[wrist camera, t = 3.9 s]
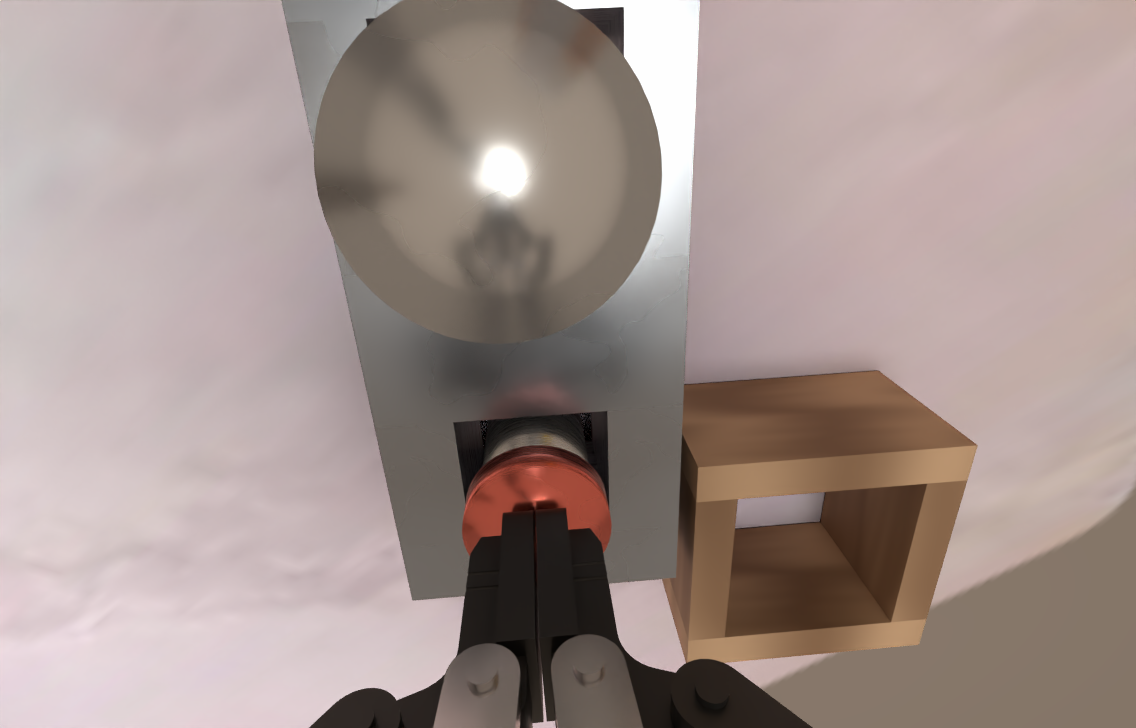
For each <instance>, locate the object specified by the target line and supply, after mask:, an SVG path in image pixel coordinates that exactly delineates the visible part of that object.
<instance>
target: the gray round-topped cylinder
mask: <svg viewBox="0 0 1136 728" xmlns="http://www.w3.org/2000/svg"><path fill="white" fill-rule="evenodd" d="M314 169H315V177H316V183H317V190H318V196H319V199H320V203H321V206H322V210H323V213H324V217H325V219H326V222H327V224H328V226H329V229H330V231H331V234H332V236H333V238H334V240H335V242H336V244H337V246H338V247H339V249H340V251H341V253H342V254H343V256H344V258H345V260H346V261H347V262H348V264H349V265H350V266H351V268H352V269H353V270H354V272H355V273H356V274H357V276H358V277H359V278H360V279H361V280H362V281H363V283H364V284H365V285H366V286H367V287H368V288H369V289H370V290H371V291H372V292H373V293H374V294H375V295H376V296H377V297H378V298H380V299H381V300H382V301H383V302H384V303H386V304H387V305H388V306H389V307H390V308H392V309H393V310H395V311H396V312H398V313H399V314H401V315H402V316H404V317H405V318H407V319H408V320H410V321H412V322H414V323H416V324H418V325H420V326H422V327H424V328H426V329H428V330H430V331H433V332H436V333H439V334H441V335H444V336H447V337H451V338H455V339H459V340H464V341H468V342H477V343H486V344H509V343H516V342H524V341H530V340H534V339H538V338H541V337H545V336H549V335H551V334H554V333H556V332H559V331H561V330H564V329H566V328H568V327H570V326H572V325H574V324H575V323H577V322H579V321H581V320H583V319H584V318H586V317H587V316H588V315H590V314H591V313H593V312H594V311H595V310H597V309H598V308H600V307H601V306H602V305H603V304H604V303H605V302H606V301H607V300H608V299H609V298H610V297H611V296H613V295H614V294H615V293H616V291H617V290H618V289H619V288H620V287H621V285H622V284H623V283H624V282H625V281H626V280H627V278H628V277H629V275H630V274H631V272H632V271H633V269H634V268H635V266H636V265H637V263H638V262H639V260H640V258H641V256H642V254H643V252H644V250H645V248H646V246H647V244H648V241H649V239H650V236H651V233H652V230H653V227H654V224H655V221H656V217H657V212H658V208H659V203H660V198H661V185H662V155H661V147H660V141H659V135H658V129H657V125H656V122H655V118H654V115H653V112H652V108H651V105H650V103H649V101H648V98H647V96H646V94H645V91H644V89H643V87H642V85H641V82H640V81H639V79H638V77H637V76H636V74H635V72H634V71H633V69H632V68H631V66H630V64H629V63H628V61H627V60H626V58H625V57H624V56H623V55H622V53H621V52H620V51H619V50H618V48H617V47H616V46H615V45H614V43H613V42H612V41H611V40H610V39H609V38H608V37H607V36H606V35H605V34H604V33H603V32H602V31H601V30H600V29H599V28H597V27H596V26H595V25H594V24H593V23H592V22H591V21H589V20H588V19H587V18H585V17H584V16H582V15H581V14H580V13H578V12H577V11H575V10H574V9H573V8H571V7H569V6H567V5H565V4H564V3H562V2H560V1H558V0H403V1H400V2H399V3H397V4H396V5H394V6H393V7H391V8H390V9H388V10H387V11H385V12H384V13H382V14H381V15H379V16H378V17H377V18H376V19H375V20H374V21H373V22H371V23H370V24H369V25H368V26H367V27H366V28H365V29H364V30H363V31H362V32H361V33H360V34H359V35H358V36H357V37H356V39H355V40H354V41H353V42H352V44H351V45H350V46H349V47H348V49H347V50H346V51H345V53H344V54H343V56H342V58H341V59H340V61H339V63H338V64H337V66H336V68H335V70H334V71H333V73H332V75H331V77H330V80H329V82H328V85H327V87H326V90H325V92H324V95H323V98H322V101H321V105H320V110H319V114H318V118H317V122H316V131H315V141H314Z"/></svg>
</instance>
